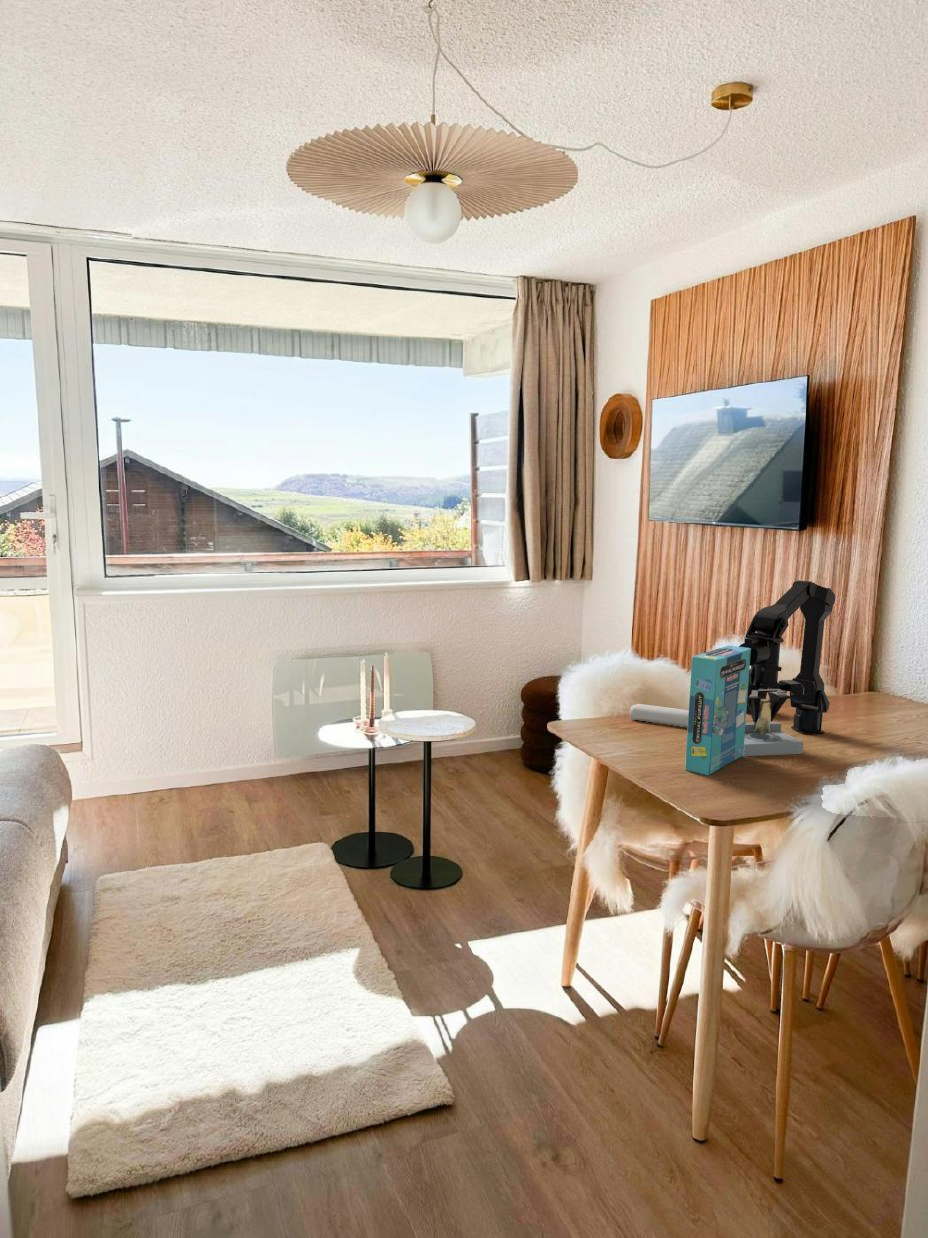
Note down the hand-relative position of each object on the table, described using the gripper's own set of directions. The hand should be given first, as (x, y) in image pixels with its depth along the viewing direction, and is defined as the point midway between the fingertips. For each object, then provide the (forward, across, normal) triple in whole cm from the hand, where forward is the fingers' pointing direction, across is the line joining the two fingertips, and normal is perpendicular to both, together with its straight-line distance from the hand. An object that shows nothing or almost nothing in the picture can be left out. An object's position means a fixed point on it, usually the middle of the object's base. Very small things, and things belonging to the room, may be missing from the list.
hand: (762, 721), depth 220 cm
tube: (+7, +13, -24) cm, 28 cm away
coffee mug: (+7, -18, -33) cm, 38 cm away
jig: (+7, 0, 0) cm, 7 cm away
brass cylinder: (+3, 0, 0) cm, 3 cm away
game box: (+7, +18, +10) cm, 22 cm away
